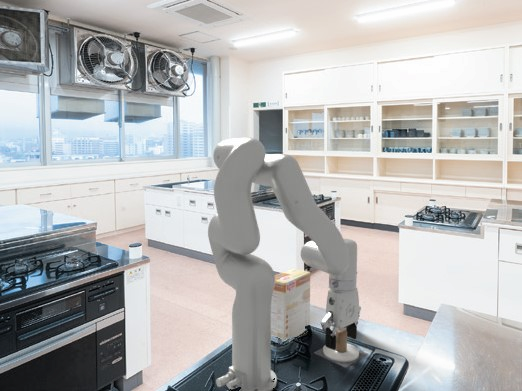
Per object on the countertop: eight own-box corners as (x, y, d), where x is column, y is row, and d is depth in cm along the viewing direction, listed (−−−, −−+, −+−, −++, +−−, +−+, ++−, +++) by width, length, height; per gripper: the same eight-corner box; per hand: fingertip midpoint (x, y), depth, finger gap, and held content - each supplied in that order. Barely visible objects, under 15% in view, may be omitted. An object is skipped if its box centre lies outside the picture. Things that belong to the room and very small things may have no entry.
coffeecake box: (292, 325, 134) (293, 267, 132) (310, 330, 130) (311, 271, 128) (264, 340, 122) (265, 278, 120) (284, 347, 118) (284, 282, 116)
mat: (345, 369, 106) (345, 367, 106) (313, 354, 114) (313, 352, 114) (368, 355, 113) (368, 354, 113) (336, 342, 121) (336, 340, 121)
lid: (345, 366, 107) (345, 342, 106) (315, 352, 114) (316, 330, 113) (366, 354, 113) (366, 331, 113) (337, 342, 121) (337, 321, 120)
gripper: (334, 294, 103) (333, 357, 105) (371, 280, 115) (369, 337, 116) (311, 287, 109) (311, 347, 110) (349, 274, 120) (348, 329, 122)
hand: (341, 342), depth 113 cm, fingers open, 9 cm apart
